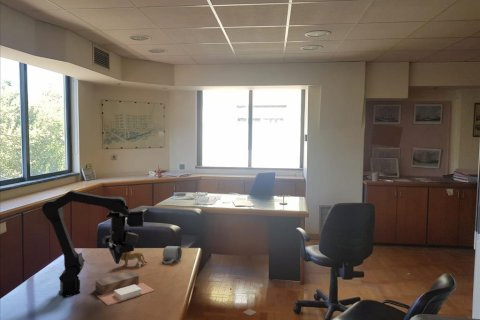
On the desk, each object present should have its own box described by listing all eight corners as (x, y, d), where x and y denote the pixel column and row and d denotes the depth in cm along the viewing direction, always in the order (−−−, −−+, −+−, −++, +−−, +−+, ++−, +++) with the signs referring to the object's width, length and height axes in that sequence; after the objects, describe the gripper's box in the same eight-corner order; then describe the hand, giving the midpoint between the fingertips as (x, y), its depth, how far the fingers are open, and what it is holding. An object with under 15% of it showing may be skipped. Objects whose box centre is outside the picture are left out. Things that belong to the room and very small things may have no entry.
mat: (107, 305, 131) (107, 304, 131) (97, 296, 138) (97, 296, 138) (154, 290, 145) (154, 290, 145) (142, 283, 152) (142, 282, 152)
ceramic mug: (168, 257, 187) (168, 243, 187) (182, 258, 185) (182, 244, 184) (158, 263, 177) (158, 249, 177) (172, 265, 175) (173, 251, 174)
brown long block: (102, 295, 139) (102, 285, 139) (95, 289, 144) (95, 280, 144) (138, 284, 150) (138, 275, 150) (131, 279, 155) (131, 271, 155)
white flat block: (114, 290, 139) (114, 295, 139) (120, 295, 135) (120, 300, 135) (134, 284, 145) (134, 288, 145) (141, 288, 141) (141, 293, 141)
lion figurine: (116, 268, 169) (117, 250, 168) (116, 264, 174) (116, 247, 173) (147, 265, 174) (147, 248, 173) (146, 262, 179) (146, 245, 178)
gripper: (146, 229, 143) (145, 265, 144) (126, 220, 156) (125, 254, 157) (120, 233, 135) (119, 271, 136) (102, 223, 149) (101, 259, 150)
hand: (117, 263), depth 145 cm, fingers closed
